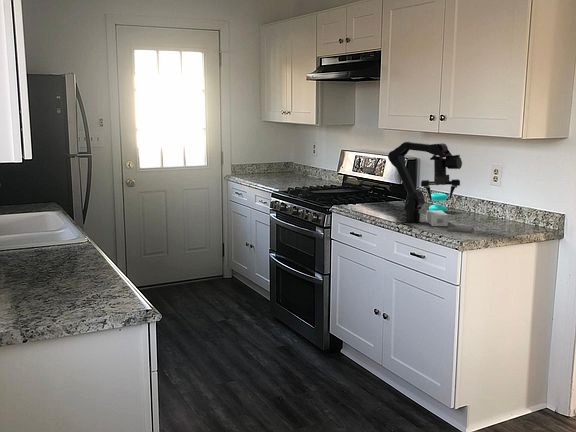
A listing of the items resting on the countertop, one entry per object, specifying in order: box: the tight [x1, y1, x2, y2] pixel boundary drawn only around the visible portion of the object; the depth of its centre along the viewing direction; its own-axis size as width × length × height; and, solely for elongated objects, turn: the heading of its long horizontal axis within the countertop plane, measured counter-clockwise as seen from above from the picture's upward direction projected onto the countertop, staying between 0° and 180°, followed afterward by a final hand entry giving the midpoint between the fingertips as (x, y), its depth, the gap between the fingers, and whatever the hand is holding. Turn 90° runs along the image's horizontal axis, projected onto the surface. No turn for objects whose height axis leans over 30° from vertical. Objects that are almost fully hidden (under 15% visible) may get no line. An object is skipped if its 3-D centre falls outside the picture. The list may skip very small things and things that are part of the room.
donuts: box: [428, 192, 449, 213], centre depth 343 cm, size 10×10×10 cm
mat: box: [446, 224, 474, 234], centre depth 293 cm, size 11×14×1 cm
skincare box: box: [425, 209, 449, 227], centre depth 305 cm, size 8×6×15 cm
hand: (440, 200), depth 300 cm, fingers open, 9 cm apart
